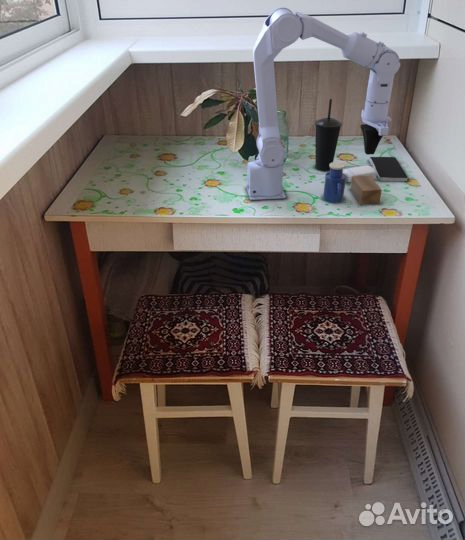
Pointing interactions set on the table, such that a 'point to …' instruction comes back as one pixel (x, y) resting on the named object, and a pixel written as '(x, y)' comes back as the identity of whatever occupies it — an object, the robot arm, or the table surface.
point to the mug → (334, 183)
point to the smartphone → (388, 169)
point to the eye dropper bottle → (359, 172)
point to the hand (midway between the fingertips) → (369, 153)
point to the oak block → (365, 190)
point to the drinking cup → (326, 140)
